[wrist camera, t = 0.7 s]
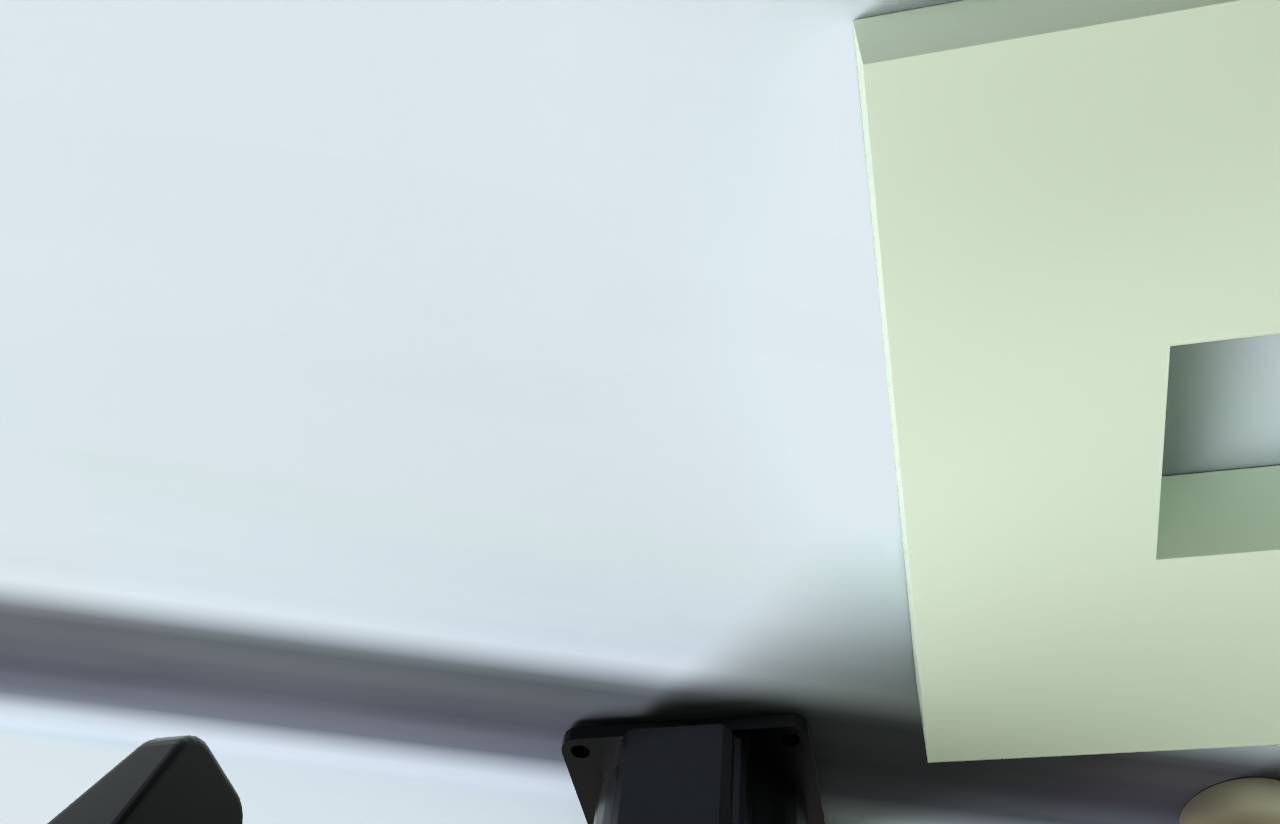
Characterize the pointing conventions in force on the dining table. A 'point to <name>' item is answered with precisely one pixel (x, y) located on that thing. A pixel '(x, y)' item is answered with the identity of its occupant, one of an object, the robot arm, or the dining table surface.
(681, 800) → the robot arm
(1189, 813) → the peg
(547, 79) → the dining table surface
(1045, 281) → the board
